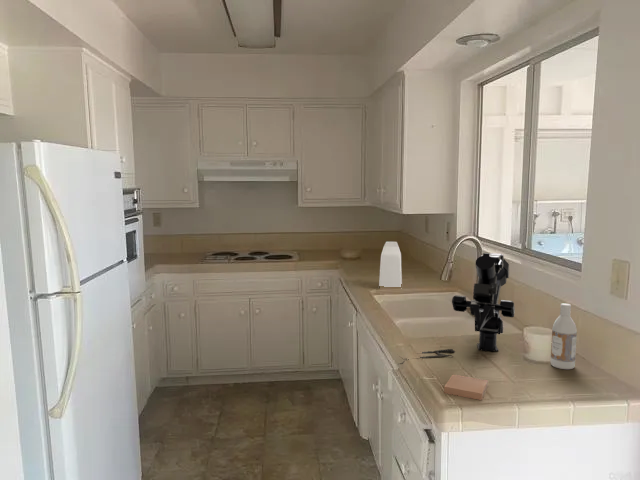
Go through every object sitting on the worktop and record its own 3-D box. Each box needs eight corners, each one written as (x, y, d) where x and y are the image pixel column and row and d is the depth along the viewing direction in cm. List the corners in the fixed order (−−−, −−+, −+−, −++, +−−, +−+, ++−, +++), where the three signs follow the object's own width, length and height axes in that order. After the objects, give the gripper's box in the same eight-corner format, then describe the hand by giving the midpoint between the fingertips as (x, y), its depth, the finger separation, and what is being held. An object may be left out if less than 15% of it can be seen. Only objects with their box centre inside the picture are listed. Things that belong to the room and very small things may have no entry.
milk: (378, 289, 271) (379, 242, 268) (380, 285, 282) (381, 240, 279) (400, 290, 269) (401, 243, 266) (402, 286, 280) (402, 240, 277)
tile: (452, 374, 144) (444, 386, 135) (488, 380, 139) (482, 393, 130) (452, 381, 144) (444, 394, 135) (487, 388, 139) (481, 401, 131)
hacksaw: (453, 352, 170) (453, 348, 170) (465, 359, 160) (465, 355, 160) (385, 357, 167) (385, 353, 167) (393, 365, 157) (393, 361, 157)
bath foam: (545, 363, 157) (548, 302, 155) (560, 360, 160) (564, 300, 158) (563, 371, 151) (567, 307, 149) (579, 368, 154) (583, 305, 152)
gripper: (454, 270, 159) (445, 311, 151) (515, 275, 151) (509, 319, 142) (458, 290, 167) (450, 330, 159) (516, 295, 159) (511, 338, 150)
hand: (479, 329), depth 152 cm, fingers closed
